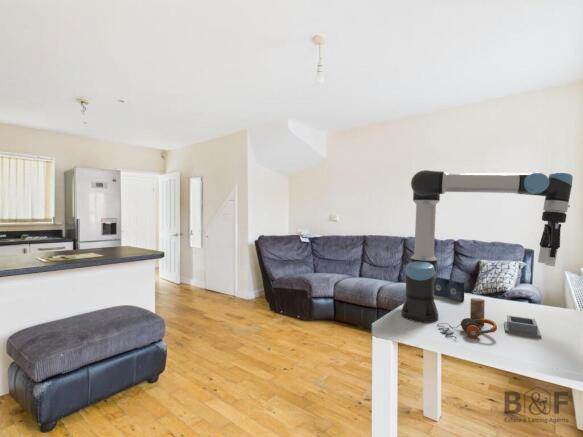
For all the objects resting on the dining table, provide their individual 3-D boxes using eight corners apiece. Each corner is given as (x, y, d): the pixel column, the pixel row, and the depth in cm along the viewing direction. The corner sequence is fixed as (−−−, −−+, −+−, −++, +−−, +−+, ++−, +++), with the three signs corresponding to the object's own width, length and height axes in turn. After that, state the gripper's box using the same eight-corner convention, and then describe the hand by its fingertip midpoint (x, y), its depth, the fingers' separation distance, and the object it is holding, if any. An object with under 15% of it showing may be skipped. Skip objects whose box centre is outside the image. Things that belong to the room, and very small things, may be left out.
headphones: (432, 318, 133) (484, 309, 129) (435, 330, 133) (487, 322, 129) (443, 333, 117) (503, 325, 113) (446, 348, 117) (506, 339, 113)
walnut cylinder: (470, 324, 133) (470, 300, 133) (470, 320, 137) (470, 297, 137) (484, 326, 130) (484, 302, 130) (484, 322, 135) (484, 299, 134)
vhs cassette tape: (464, 301, 166) (464, 282, 166) (460, 302, 164) (461, 283, 164) (434, 293, 182) (434, 275, 182) (430, 294, 181) (430, 276, 181)
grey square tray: (505, 332, 124) (505, 322, 124) (504, 323, 134) (504, 314, 134) (541, 338, 119) (541, 327, 118) (537, 328, 128) (537, 318, 128)
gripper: (576, 211, 117) (566, 269, 118) (558, 215, 139) (549, 263, 140) (551, 208, 120) (541, 264, 121) (536, 212, 143) (528, 260, 143)
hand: (545, 264), depth 130 cm, fingers open, 13 cm apart
